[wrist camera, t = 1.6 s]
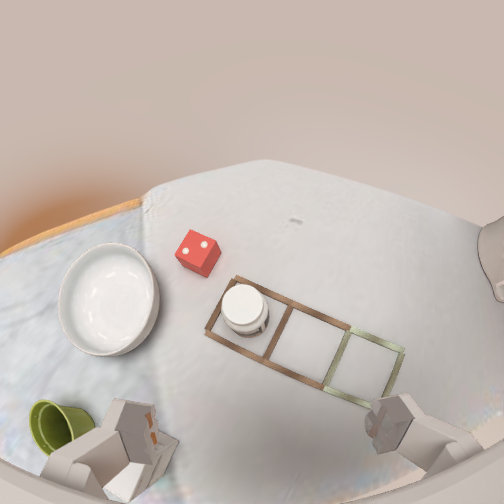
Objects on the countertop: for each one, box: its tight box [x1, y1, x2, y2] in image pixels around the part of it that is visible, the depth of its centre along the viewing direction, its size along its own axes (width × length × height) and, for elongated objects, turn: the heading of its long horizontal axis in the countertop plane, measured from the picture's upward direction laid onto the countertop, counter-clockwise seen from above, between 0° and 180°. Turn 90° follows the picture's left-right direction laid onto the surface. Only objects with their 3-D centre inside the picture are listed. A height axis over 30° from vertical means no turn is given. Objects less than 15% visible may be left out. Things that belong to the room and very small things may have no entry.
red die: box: [175, 229, 221, 278], centre depth 44 cm, size 4×4×5 cm
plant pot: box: [29, 400, 95, 457], centre depth 32 cm, size 9×9×9 cm
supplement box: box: [104, 431, 179, 502], centre depth 29 cm, size 7×7×13 cm
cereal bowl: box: [58, 243, 160, 357], centre depth 41 cm, size 17×17×7 cm
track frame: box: [204, 275, 405, 409], centre depth 40 cm, size 28×10×1 cm, turn 63°
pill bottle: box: [221, 284, 269, 338], centre depth 38 cm, size 6×6×10 cm
